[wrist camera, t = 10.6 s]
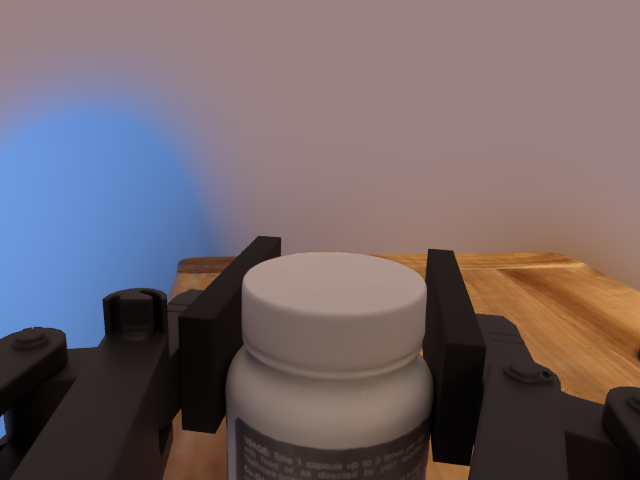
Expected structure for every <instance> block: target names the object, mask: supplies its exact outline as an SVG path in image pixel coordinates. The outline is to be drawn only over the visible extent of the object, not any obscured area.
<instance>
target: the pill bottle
mask: <svg viewBox="0 0 640 480" xmlns="http://www.w3.org/2000/svg"><path fill="white" fill-rule="evenodd" d="M426 300H427V287H426V283H425V281H424V280H423V278H422V277H421V276H420V275H419V274H418V273H417V272H415V271H414V270H413V269H411V268H409V267H407V266H405V265H402V264H400V263H397V262H395V261H391V260H387V259H383V258H379V257H373V256H368V255H362V254H355V253H343V252H311V253H299V254H291V255H286V256H281V257H277V258H274V259H270V260H267V261H264V262H262V263H260V264H258V265H256V266H254V267H253V268H251V269H250V270H249V271H248V272H247V273H246V274H245V276H244V278H243V283H242V322H241V323H242V331H243V332H242V338H243V343H244V345H243V346H242V347H241V348H240V349H239V351H238V352H237V353H236V355H235V356H234V358H233V360H232V362H231V364H230V366H229V369H228V373H227V377H226V385H225V403H226V429H227V442H226V444H227V480H425V478H426V466H427V462H428V452H429V440H430V432H431V423H432V414H433V405H434V383H433V378H432V375H431V372H430V369H429V367H428V365H427V363H426V362H425V360H424V359H423V357H422V356H421V355H420V354H419V353H420V351H421V349H422V345H423V338H424V335H425V316H426Z"/></svg>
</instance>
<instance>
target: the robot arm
mask: <svg viewBox="0 0 640 480" xmlns="http://www.w3.org/2000/svg"><path fill="white" fill-rule="evenodd" d="M277 257H281V238H280V237H267V236H258V237H257V238H256V239H255V240H254V241H253V242H252V243H251V244H250V245H249V246H248V247H247V248H246V249H245V250H244V251H243V252H242V253H241V254H240V255H239V256H238V257H237V258H236V259H235V260H234V261H233V262H232V263H231V264H230V265H229V266H228V267H227V268H226V269H225V270H224V271H223V272H222V273H221V274H220V275H219V276H218V277H217V278H216V279H215V280H214V281H213V282H212V283H211V284H210V285H209V286H208V287H207V288H206V289H205V290H194V289H191V290H189V291H186V292H184V293H182V294H179V295H177V296H176V297H175V298H174V299H172V300H171V301H170V302H169V303H168V305H167V295H166V294H165V293H164V292H162V291H159V290H155V289H149V288H135V289H127V290H121V291H118V292H115V293H112V294H109V295H108V296H106V297H105V298H104V299H103V311H104V324H105V337H104V338H103V340H102V341H101V343H100V344H99V346H98V347H93V348H77V349H67V343H66V334H65V333H64V332H62V331H61V330H57V329H54V328H42V327H34V328H33V329H32V328H27V329H23V330H22V331H19V332H16V333H12V334H10V335H8V336H6V337H4V338H2V339H0V417H1V416H2V415H3V416H4V423H5V430H6V435H5V436H3V437H2V438H1V439H0V480H162V479H163V475H164V471H165V468H166V464H167V460H168V457H169V453H170V449H171V446H172V442H173V424H172V420H173V419H174V417H175V416H176V414H177V413H178V411H179V410H180V409H181V410H182V430H189V431H197V432H205V433H213V434H215V433H216V431H217V429H218V428H219V426H220V424H221V422H222V420H223V418H224V416H225V415H226V403H225V385H226V377H227V373H228V369H229V366H230V364H231V362H232V360H233V358H234V356H235V355H236V353H237V352H238V351H239V349H240V348H241V347H242V346H243V345H244V343H243V338H242V332H243V331H242V323H241V322H242V283H243V278H244V276H245V274H246V273H247V272H248V271H249V270H250V269H251V268H253V267H254V266H256V265H258V264H260V263H262V262H264V261H267V260H270V259H274V258H277ZM425 283H426V287H427V300H426V316H425V335H424V338H423V345H422V349H423V359H424V360H425V362H426V363H427V365H428V367H429V369H430V372H431V375H432V378H433V383H434V405H433V414H432V423H431V432H430V434H431V445H432V455H433V462H441V463H449V464H456V465H464V466H470V465H471V466H470V472H469V477H468V480H640V388H637V387H617V388H614V389H610V391H609V392H608V394H607V396H606V401H605V405H603V404H599V403H595V402H592V401H588V400H584V399H581V398H577V397H574V396H571V395H569V394H566V393H564V392H562V391H561V384H560V381H559V379H558V376H557V375H556V374H554V373H553V372H552V371H551V370H550V369H548V368H546V367H544V366H542V365H540V364H537V363H535V362H534V360H533V359H532V357H531V355H530V353H529V351H528V349H527V347H526V345H525V343H524V341H523V339H522V337H520V333H519V331H518V329H517V327H516V325H514V324H513V323H512V322H510V321H509V320H508V319H506V318H505V317H503V316H496V315H485V314H475V312H474V309H473V306H472V303H471V301H470V298H469V295H468V292H467V289H466V286H465V284H464V281H463V278H462V275H461V272H460V269H459V267H458V264H457V261H456V258H455V255H454V252H453V251H449V250H438V249H428V257H427V267H426V278H425ZM473 445H474V450H473ZM472 450H473V455H472ZM471 458H472V461H471Z"/></svg>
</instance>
